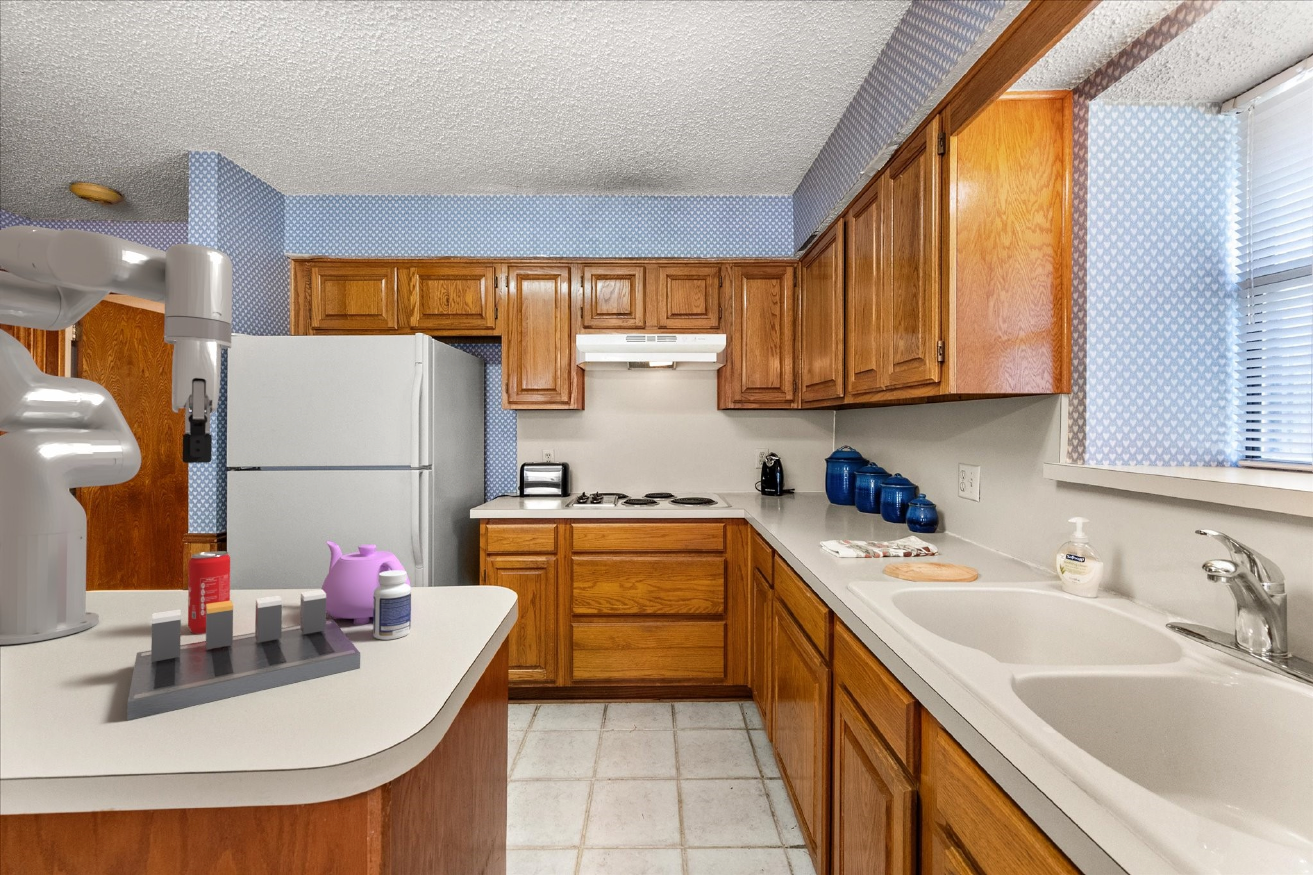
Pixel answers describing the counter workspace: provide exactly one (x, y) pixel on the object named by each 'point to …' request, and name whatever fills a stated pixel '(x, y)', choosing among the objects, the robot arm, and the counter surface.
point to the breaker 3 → (313, 611)
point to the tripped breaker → (219, 624)
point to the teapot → (356, 581)
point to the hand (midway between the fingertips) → (197, 462)
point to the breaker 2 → (268, 619)
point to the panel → (237, 668)
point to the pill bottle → (392, 606)
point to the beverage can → (206, 586)
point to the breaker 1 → (166, 635)
